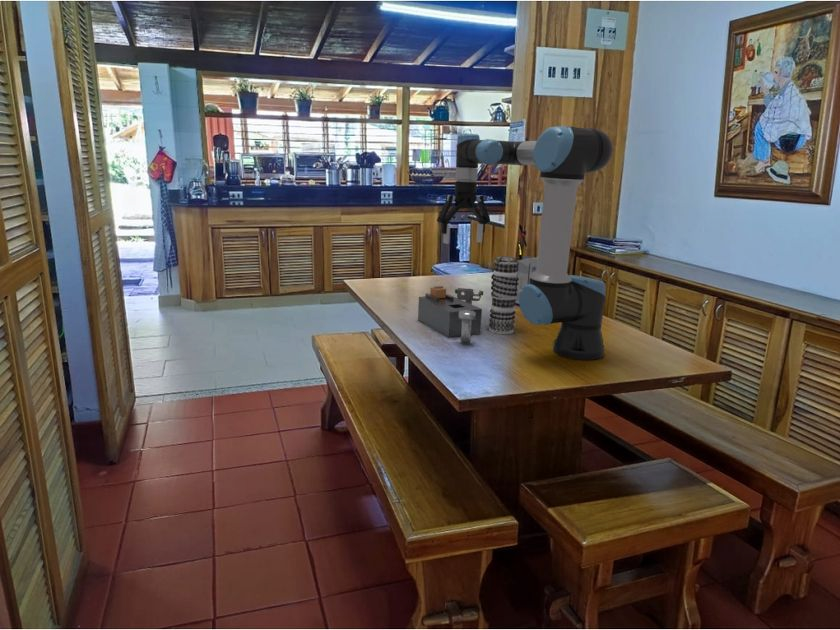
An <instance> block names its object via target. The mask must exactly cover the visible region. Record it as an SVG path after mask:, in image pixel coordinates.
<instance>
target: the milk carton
mask: <svg viewBox="0 0 840 630" xmlns="http://www.w3.org/2000/svg"><path fill="white" fill-rule="evenodd" d="M516 261H517V262H519V263H518V267H517V271H518V273H517V278H519V280H518V281H516V282H517V283H518V284H519V285H516V286H515V288H517V289H518V291H515V293H517V296H516V299H515V303H514V306H515V307H516V306H517V307H520V305H519V294H520V291H521V289H522V288H523V287H524V286H526V285H528V284H529V280H530V275H531V274H532V273H534V272H535V271H536V265H537V257H531V256H530V255H526V256H522V259H520V260H519V259H518V260H516Z"/></svg>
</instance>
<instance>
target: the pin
mask: <svg viewBox="0 0 840 630" xmlns="http://www.w3.org/2000/svg"><path fill="white" fill-rule="evenodd" d="M475 316H476V312H474V311H470V310H462V311H459V317H458V318H459V319H462V327H461V336H460V344H461V345H464V346H465V345H466V346H467V345H468V346H469V345H471V340H472V339H471V336H472V335H471V322H472V320H474V319H475Z"/></svg>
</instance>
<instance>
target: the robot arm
mask: <svg viewBox="0 0 840 630" xmlns="http://www.w3.org/2000/svg"><path fill="white" fill-rule="evenodd" d="M456 141H457V143H456V151H455V152H456V155H455V156H456V157H455V159H456V160H455V164H456V165H455V176H454V177H455V180H456V181H455V182H454V195H451V194H446V197H445V202H444V204H443V207H442V208H441V210H440V213H439V214H438V217H437V219H436V222H438V223H440V224H441V234H443V237H442V239H443V240H442V241H443V242H442V243H443V244H447V245H448V244H450V226H451V224H449V222H451V220H452V219H453V218H454V216H455V215H456V213H457V212H458V211H459V210H460V209H461V210H462V209H467V210H468V209H470V210H471V212H472V213H473V215H474V217H475V218H476V219H477V222H479V223H477V225H476V239H475V240H476V243H480V244H481V243H483V238H484V237H483V236H484V233H485V229H486V225H487V224H488V223H490V222H491V218H490V215H489V213H488V210H487V206H486V203H485V197H484V195H479V194H478V195H477V192H478V191H477V190H478V189H477V188H478V183H477V180H478V173H479V164H481V165H508V166H509V165H510V166H512V165H513V166H535V169H537V170H538V171H540V175H539V179H540V180H541V181H542V182H543V183H544V193H543V200H542V201H543V202H542V210H541V211H542V212H541V220H540V229H539V230H540V231H539V236H538V237H539V238H538V239H539V240H538V249H537V250H538V251H537V256H536V258H537V265H536V271H535V272H534V273H532V274H531V275H530V280H529V284H528V285H526V286H524V287H523V288H522V289H521V291H520V294H519V305H520V306H519V308H520V312H521V313H522V314H523V317H524V319H526V320H527V321H528V322H529V323H530V324H532V325H536V326H537V325H538V326H539V325H544V326H547V325H552V324H561V325H560V328H559V329H558V330H559V331H558V332H557V335H556V339H554V341H553V344H552V351H553V352H554V353H555V354H557V355H558V356H562V357H564V358H569V359H573V360H580V361H581V360H582V361H594V360H595V361H596V360H600V359H603V358H604V355H605V349H606V348H605V345H604V339H603V334H602V323H603V316H604V310H605V308H604V307H605V300H606V297H607V295H606V290H607V288H606V283H605V282H604V281H602V280H599V279H596V278H592V277H587V276H580V275H572V274H568V265H569V257H570V249H571V243H572V241H571V240H572V232H573V223H574V218H575V208H576V202H577V201H576V200H577V192H578V187H579V186H580V185H581V183H583V182H584V181H585V175H586V173H587V174H589V173H595V172H598V171H601V170H602V169H604V168H605V167H606V166H607V165H608V164H609V163H610V161H611V159H612V156H613V154H614V153H613V152H614V148H613V147H614V145H613V141H612V140H611V138H610V137H609V136H608V134H606V133H605V132H604V131H602V130H600V129H596V128H585V127H576V126H568V125H567V126H566V125H562V126H561V125H560V126H551V127H548V128H546V129H545V130H544V131H543V132H542V133H541V135H539V136H538V138H537V140H525V141H524V140H522V141H518V140H516V141H511V140H509V141H508V140H496V139H489V138H486V139H481V137H480V135H479V134H477V133H460V134H458V136H457V139H456ZM453 202H454V203H453ZM475 202H477V205H478V206H477V205H476V203H475ZM452 204H453V205H452ZM451 206H452V207H451ZM478 208H479V209H478ZM599 358H600V359H599Z"/></svg>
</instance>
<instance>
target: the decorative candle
mask: <svg viewBox="0 0 840 630" xmlns="http://www.w3.org/2000/svg"><path fill="white" fill-rule="evenodd" d="M517 261H518V260H517V258H516V257H515V256H506V255H502V256H501V255H500V256H498V257H497V258H496V259H495V260H494V261H493V262H494V270H493V273H492V274H491V278H490V279H491V286H490V289H491V292H490V297H491V299H492V300H491V305H490V309H489V313H490V314H489V317H490V318H489V319H488V322H489V324H488V331H489V332H491V333H494V334H498V335H510V334H512V333H514V332H515V330H514V329H515V320H514V319H515V318H516V315H515V314H516V311H515V310H516V309H515V307H516V305H514V303H515V299H516V296H517V293H515V291H518V289H517V288H515V286H516V285H519V284H518V283H517V282H516V281H518V280H519V278H517V273H518V271H517V267H518V263H519V262H517Z"/></svg>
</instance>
